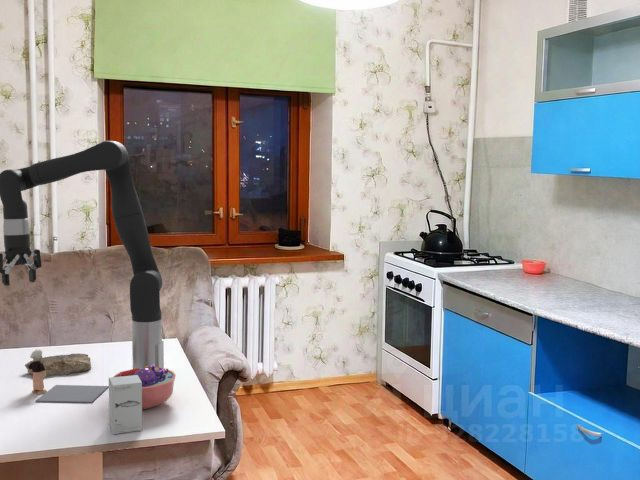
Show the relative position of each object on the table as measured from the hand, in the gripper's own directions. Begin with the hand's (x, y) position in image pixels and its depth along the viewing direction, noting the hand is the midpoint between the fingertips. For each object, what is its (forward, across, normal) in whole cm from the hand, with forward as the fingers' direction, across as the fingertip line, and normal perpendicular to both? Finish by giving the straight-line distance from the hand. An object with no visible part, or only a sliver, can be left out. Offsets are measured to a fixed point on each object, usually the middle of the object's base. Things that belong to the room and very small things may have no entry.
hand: (19, 283), depth 214 cm
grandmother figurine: (+29, -9, -22) cm, 38 cm away
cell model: (+30, +3, -55) cm, 63 cm away
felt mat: (+29, -4, -32) cm, 43 cm away
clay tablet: (+29, +8, -7) cm, 31 cm away
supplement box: (+30, -11, -65) cm, 72 cm away
